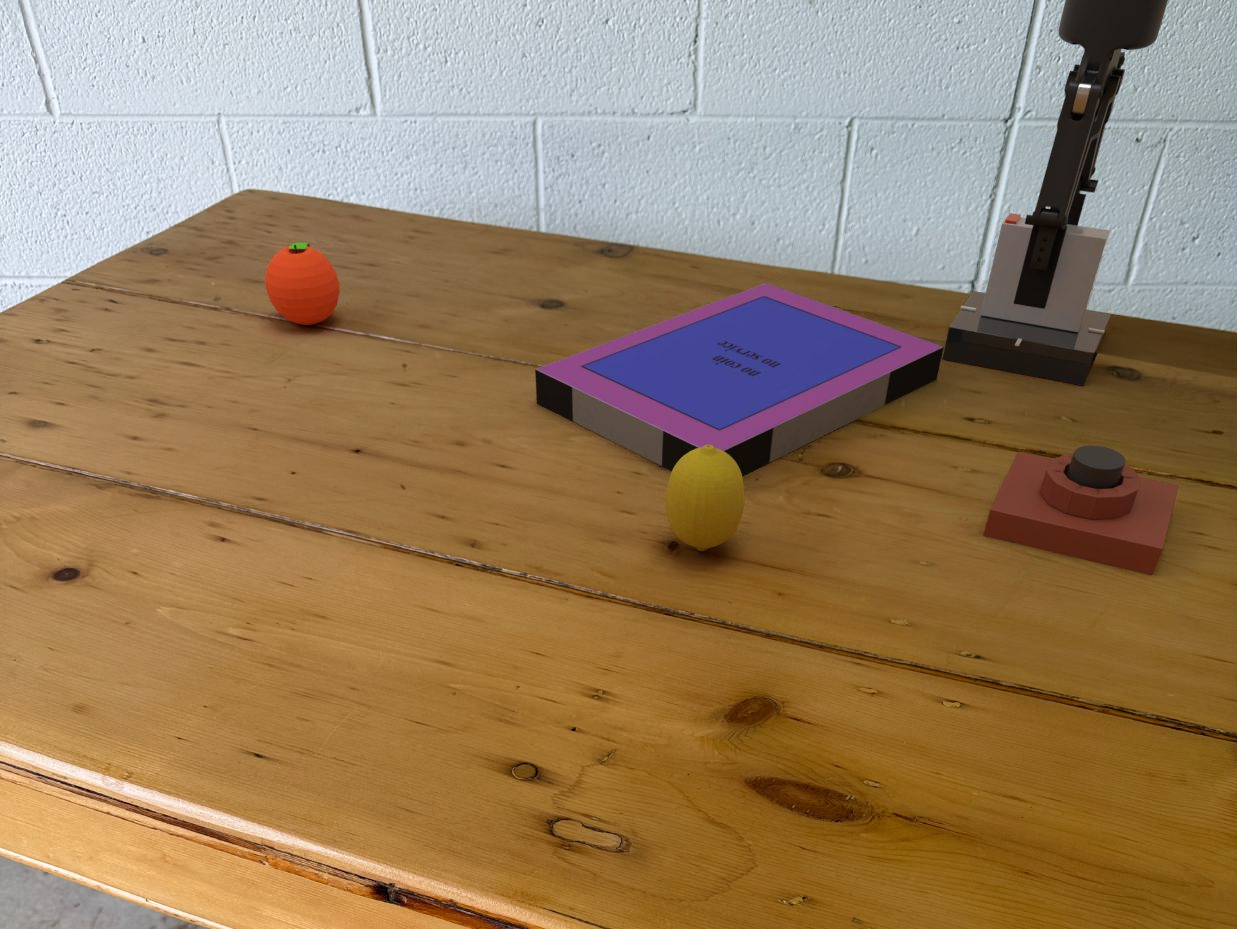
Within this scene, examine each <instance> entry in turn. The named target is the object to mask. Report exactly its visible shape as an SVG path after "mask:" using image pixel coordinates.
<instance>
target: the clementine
mask: <svg viewBox="0 0 1237 929" xmlns="http://www.w3.org/2000/svg"><path fill="white" fill-rule="evenodd" d="M264 284H265V290H266V293H267V296H268V299H269V302H270V303H271V304H272V306H273V307H274V309H275V311H277V312H278V314H280V315H281V316H282V317H283V318H284V319H286V320H287V321H290V322H292V323H294V324H297V325H301V326H302V325H304V326H313V325H316V324H319V323H322V322H323V321H325V320H326V319H327V318H328V317H330V316H331V315H332V314H333V312H334V311H335V309H336V307H337V306H338V302H339V299H340V298H339V297H340V291H341V290H340V280H339V277H338V275H337V272H336V270H335V268H334V267H333V265H332V262H331V261H330V260H329V259H328V258H327V257H326V256H325V255H324V254H323V253H322V252H320V251H318V250H316V248H315V249H314V248H313V247H311V245H310V242H294V243H292V244H291V245H289V246H288V245H287V246H285V247H283V248H281V249H280V250H279V251H278V252H277V253H276V254H274V255H273V256H272V257H271V259H270V260H269V263H268V265H267V267H266V272H265V276H264Z"/></svg>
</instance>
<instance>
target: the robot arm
mask: <svg viewBox="0 0 1237 929" xmlns="http://www.w3.org/2000/svg"><path fill="white" fill-rule="evenodd" d="M1168 2H1169V0H1065V1H1064V5H1063V8H1062V13H1061V17H1060V21H1059V26H1058V30H1057V32H1058V37H1059V38H1060V39H1061V40H1062V41H1063V42H1065V43H1067V44H1070V45H1073V46H1075V45H1076V46H1081V47H1082V48H1083V49H1084V51H1083V54H1082V56H1081V60H1080V63H1079V64H1078V63H1075V65H1074V66H1073V70H1070V71H1069V72H1068V76H1067V78H1066V83H1065V85H1064V100H1063V103H1062V106H1061V110H1060V113H1059V116H1058V119H1057V123H1056V133H1055V137H1054V140H1053V143H1052V147H1051V150H1050V154H1049V157H1048V161H1047V165H1046V169H1045V172H1044V176H1043V179H1042V182H1041V183H1042V184H1041V187H1040V191H1039V194H1038V198H1037V201H1036V205H1035V208H1034V211H1033V212H1032V214H1026V216H1025V218H1026V220H1025V224H1027V225H1033V228H1032V232H1031V236H1030V240H1029V244H1028V248H1027V252H1026V256H1025V260H1024V264H1023V267H1022V271H1021V275H1020V279H1019V283H1018V287H1017V291H1016V295H1015V299H1014V303H1013V304H1018V305H1024V306H1030V307H1035V308H1041V309H1045V307H1046V304H1047V300H1048V296H1049V293H1050V289H1051V285H1052V282H1053V278H1054V274H1055V271H1056V267H1057V263H1058V260H1059V256H1060V252H1061V249H1062V245H1063V241H1064V238H1065V234H1066V230H1067V227H1068V226H1066V225H1067V224H1069V225H1076V226H1079V223H1080V219H1081V215H1082V211H1083V208H1084V203H1085V201H1086V197H1087V193H1093V194H1094V193H1095V192H1096V190H1097V187H1098V184H1099V179H1092V177H1093V176H1094V175H1095V172H1096V168H1097V167H1096V164H1097V159H1098V157H1099V152H1100V149H1101V144H1102V141H1103V137H1104V133H1105V129H1106V126H1107V123H1108V122H1109V120H1110V117H1111V115H1112V112H1113V108H1114V105H1115V100H1116V96H1117V95H1118V94H1119V92H1120V89H1121V86H1122V84H1123V80H1124V76H1125V72H1126V69H1124V68H1122V66H1124V64H1125V60H1126V57H1125V56H1126V52H1124V51H1122V50H1125V51H1135V50H1141V49H1145V48H1148V47H1151V46H1152V45H1153V44H1154V43H1155V42H1156V40H1157V39H1158V36H1159V33H1160V29H1161V27H1162V23H1163V19H1164V16H1165V12H1166V8H1167V5H1168ZM1081 192H1084V193H1081Z"/></svg>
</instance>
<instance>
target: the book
mask: <svg viewBox="0 0 1237 929" xmlns="http://www.w3.org/2000/svg"><path fill="white" fill-rule="evenodd" d="M944 349H945V346H942V345H940V344H937V343H935V342H932V341H929V340H926V339H923V338H920V337H918V336H915V335H912V334H911V333H910V334H909V333H907V332H904V331H901V330H899V329H896V328H893V327H891V326H887V325H884V324H881V323H879V322H876V321H874V320H870V319H867V318H865V317H862V316H859V315H856V314H855V313H851V312H848V311H846V310H843V309H840V308H838V307H834V306H831V305H829V304H826V303H823V302H820V301H817V300H815V299H813V298H809V297H806V296H804V295H801V294H798V293H796V292H794V291H790V290H788V289H784V288H782V287H779V286H776V285H773V284H770V283H768V282H765V283H762V284H759V285H757V286H754V287H751V288H748V289H745V290H743V291H740V292H738V293H735V294H731V295H730V296H727V297H724V298H722V299H719V300H716V301H714V302H711V303H708V304H706V305H703V306H700V307H698V308H695V309H692V310H690V311H687V312H684V313H682V314H679V315H676V316H673V317H671V318H668V319H666V320H664V321H661V322H658V323H655V324H652V325H649V326H647V327H644V328H642V329H639V330H636V331H634V332H632V333H629V334H625V335H622V336H620V337H618V338H615V339H613V340H609V341H607V342H605V343H601V344H599V345H596V346H594V347H591V348H588V349H585V350H582V351H580V352H578V353H575V354H572V355H570V356H567V357H564V358H561V359H559V360H556V361H554V362H551V363H548V364H545V365H543V366H539V367H538V368H535V369H534V374H535V376H534V377H535V396H536V397H535V398H536V404H537V405H538V406H541V407H544V408H545V409H547V410H549V411H551V412H553V413H555V414H557V415H559V416H561V417H562V418H565V419H567V420H569V421H571V422H573V423H575V424H577V425H578V426H581V427H583V428H585V429H587V430H589V431H591V432H593V433H594V434H597V435H599V436H601V437H603V438H605V439H607V440H609V441H611V442H612V443H615V444H617V445H618V446H620V447H622V448H625V449H626V450H628V451H630V452H632V453H634V454H637V455H639V456H641V457H643V458H644V459H646V460H648V461H650V462H652V463H654V464H657V465H659V466H660V467H663V468H664V469H666V470H669V471H670V472H672V470H673V468H674V466H675V465H676V464H677V462H678V461H679V460H680V459H681V458H682V457H683V456H684V455H685V454H687V453H688V452H690V451H692V450H694V449H697V448H701V447H703V446H705V445H712V446H714V448H717V449H720V450H722V451H724V452H726V453H727V454H728V455H729V456H731V457H732V458H733V459H734V460H735V462H736V463H737V465H738V467H739V468H740V471H741V473H742V477H744V476H745V475H748V474H750V473H753V472H754V471H757V470H758V469H760V468H762V467H764V466H766V465H768V464H770V463H772V462H774V461H776V460H778V459H780V458H783V457H784V456H787V455H788V454H790V453H792V452H794V451H796V450H798V449H801V448H802V447H805V446H807V445H808V444H811V443H812V442H815V441H816V440H819V439H821V438H823V437H825V436H826V435H828V433H829V434H831V433H832V432H835V431H837V430H839V429H840V428H842V426H843V427H845V426H847V425H848V424H851V423H852V422H855V421H857V420H858V419H860V418H862V417H864V416H866V415H868V414H870V413H872V412H874V411H876V410H879V409H880V408H882V407H885V406H886V405H888V404H890V403H892V402H895V401H896V400H898V399H900V398H902V397H904V396H907V395H908V394H910V393H913V392H915V391H917V390H919V389H921V388H923V387H925V386H926V385H929V384H930V383H932V382H935V381H937V380H938V375H939V371H940V366H941V361H942V358H943V353H944ZM838 428H839V429H838ZM836 429H837V430H836ZM834 430H835V431H834ZM830 432H831V433H830ZM824 435H825V436H824Z"/></svg>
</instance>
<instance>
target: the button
mask: <svg viewBox="0 0 1237 929" xmlns="http://www.w3.org/2000/svg"><path fill="white" fill-rule="evenodd" d="M1072 454H1073V457H1072V460H1071V463H1070V466H1069V469H1068V472H1067V478H1068V479H1069V480H1071V481H1073V482H1075V483H1077V484H1079V485H1081V486H1085V487H1089V488H1094V489H1112V488H1115V487H1116V486H1117V485H1118V482H1119V480H1120V477H1121V474H1122V471H1123V468H1124V466H1125V465H1126V463H1127V462H1126V458H1125V456H1124V455H1123V454H1122V453H1121V452H1119V451H1117V450H1115V449H1112V448H1110V447H1106V446H1102V445H1083V446H1080V447H1078V448H1076V449H1075V450H1074V451H1073V453H1072Z"/></svg>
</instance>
